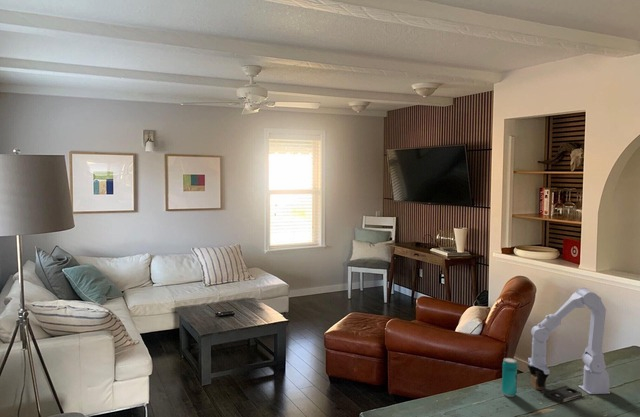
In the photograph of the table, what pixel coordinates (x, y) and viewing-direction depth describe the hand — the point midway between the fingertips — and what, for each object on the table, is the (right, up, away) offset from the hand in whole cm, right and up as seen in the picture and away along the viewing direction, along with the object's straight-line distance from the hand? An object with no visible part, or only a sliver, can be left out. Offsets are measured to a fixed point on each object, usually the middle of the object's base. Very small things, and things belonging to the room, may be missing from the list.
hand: (537, 384), depth 217 cm
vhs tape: (+7, -3, -9) cm, 11 cm away
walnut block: (0, -1, 0) cm, 1 cm away
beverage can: (-15, -2, -7) cm, 17 cm away
